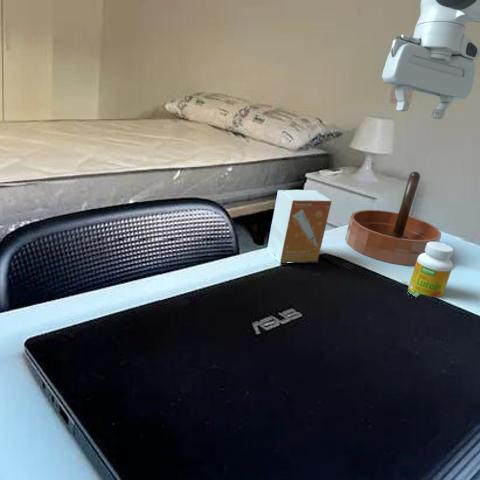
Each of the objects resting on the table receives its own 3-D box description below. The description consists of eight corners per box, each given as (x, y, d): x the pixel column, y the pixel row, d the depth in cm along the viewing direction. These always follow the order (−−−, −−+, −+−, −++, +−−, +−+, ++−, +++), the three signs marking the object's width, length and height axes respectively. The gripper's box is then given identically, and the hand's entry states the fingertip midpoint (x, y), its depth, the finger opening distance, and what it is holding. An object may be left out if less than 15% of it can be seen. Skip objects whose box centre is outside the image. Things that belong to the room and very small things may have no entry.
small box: (279, 265, 94) (292, 200, 89) (265, 251, 100) (277, 189, 95) (318, 264, 96) (332, 200, 91) (302, 250, 102) (315, 189, 96)
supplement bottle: (407, 299, 85) (423, 248, 82) (406, 286, 90) (421, 237, 86) (442, 308, 84) (460, 255, 80) (438, 294, 88) (456, 244, 84)
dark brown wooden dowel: (412, 245, 107) (434, 173, 101) (402, 250, 104) (424, 176, 97) (388, 236, 110) (408, 167, 104) (378, 242, 107) (397, 170, 101)
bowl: (444, 255, 105) (453, 229, 103) (412, 277, 94) (421, 248, 92) (367, 229, 116) (373, 204, 114) (329, 245, 105) (336, 219, 103)
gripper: (408, 28, 92) (391, 105, 95) (486, 52, 99) (469, 122, 102) (383, 34, 98) (368, 106, 101) (459, 56, 105) (443, 123, 108)
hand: (419, 114), depth 101 cm, fingers open, 8 cm apart
